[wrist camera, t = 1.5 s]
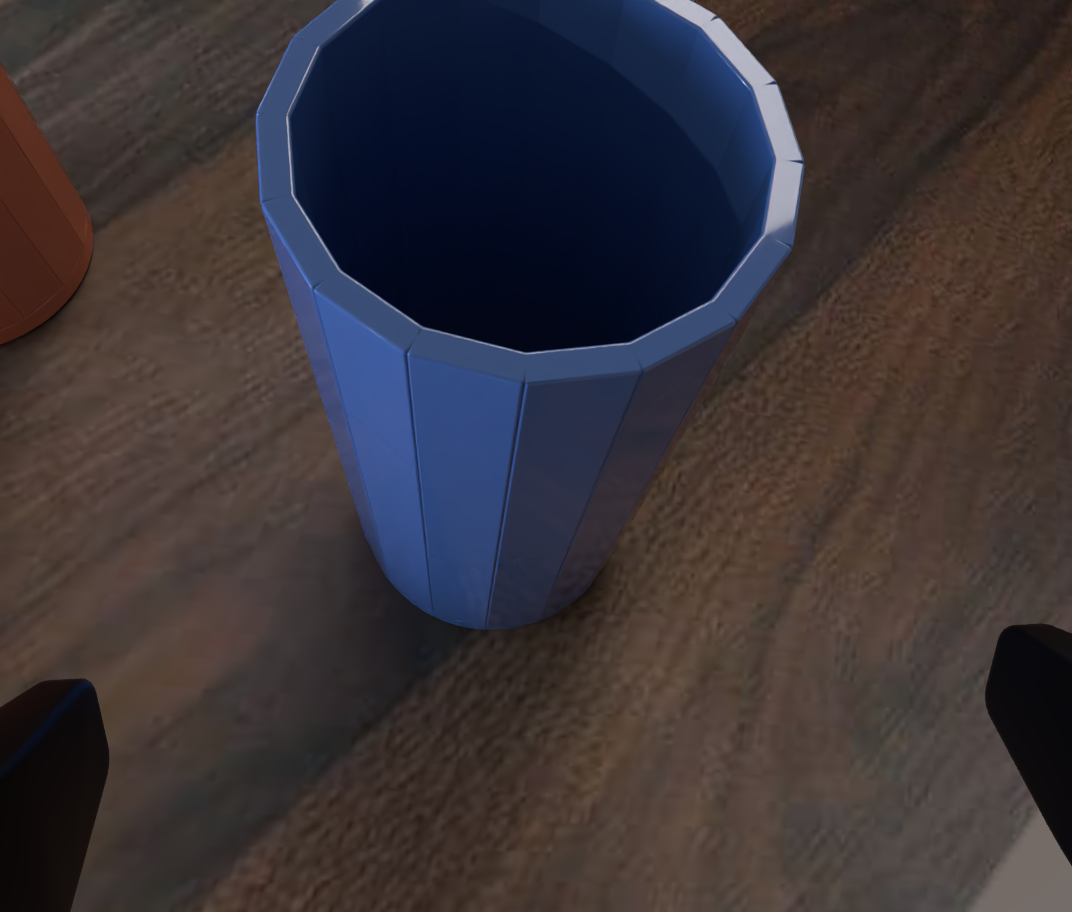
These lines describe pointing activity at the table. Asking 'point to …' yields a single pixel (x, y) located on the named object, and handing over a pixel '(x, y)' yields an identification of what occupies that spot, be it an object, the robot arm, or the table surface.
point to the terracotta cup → (35, 222)
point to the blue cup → (519, 268)
